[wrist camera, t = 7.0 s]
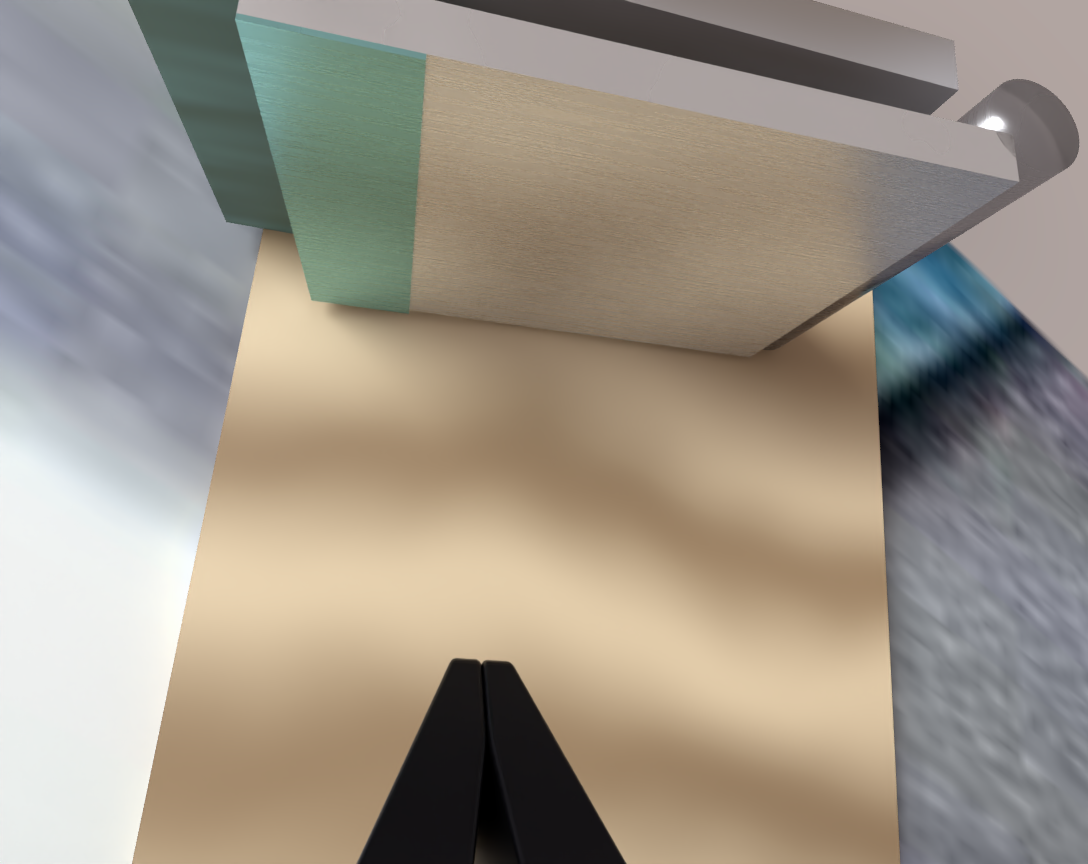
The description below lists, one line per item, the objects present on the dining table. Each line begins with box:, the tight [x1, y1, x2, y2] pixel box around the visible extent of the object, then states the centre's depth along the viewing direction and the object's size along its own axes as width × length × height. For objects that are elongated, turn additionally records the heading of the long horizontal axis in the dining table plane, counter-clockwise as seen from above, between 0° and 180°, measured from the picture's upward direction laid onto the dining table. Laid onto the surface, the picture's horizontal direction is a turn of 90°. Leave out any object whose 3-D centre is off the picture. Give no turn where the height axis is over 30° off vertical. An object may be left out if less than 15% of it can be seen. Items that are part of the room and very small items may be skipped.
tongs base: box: [128, 0, 958, 864], centre depth 13 cm, size 18×19×10 cm
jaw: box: [235, 0, 1079, 357], centre depth 14 cm, size 2×13×9 cm, turn 87°
